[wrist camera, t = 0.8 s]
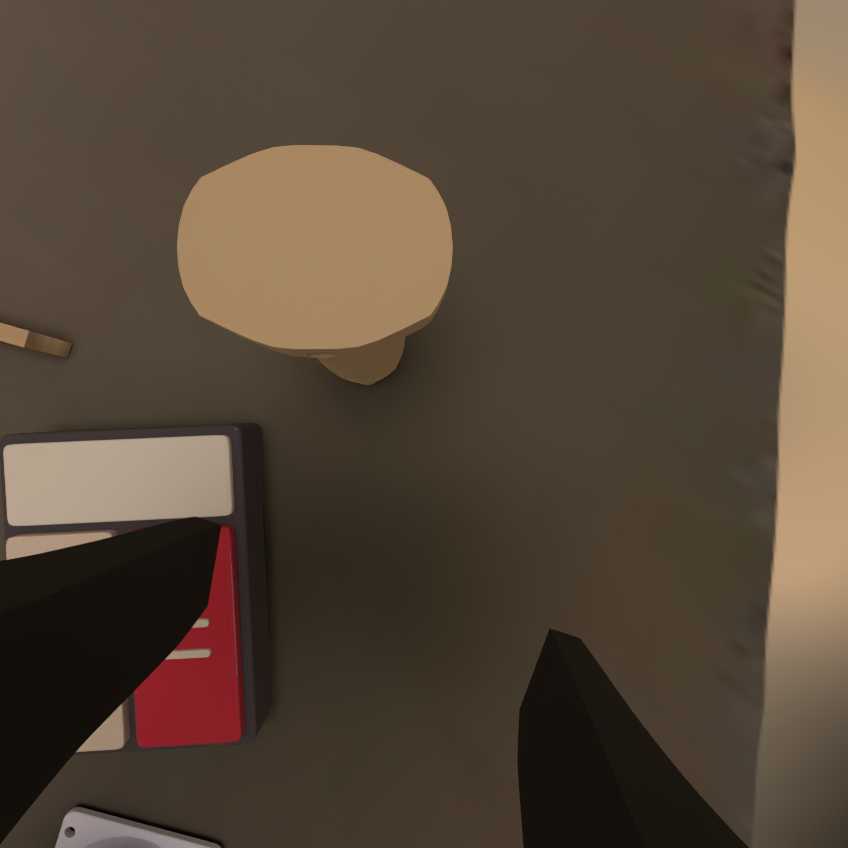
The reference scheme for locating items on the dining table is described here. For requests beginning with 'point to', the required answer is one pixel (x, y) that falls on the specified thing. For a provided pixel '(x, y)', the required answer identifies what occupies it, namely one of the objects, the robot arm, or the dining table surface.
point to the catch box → (34, 340)
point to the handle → (317, 254)
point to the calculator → (144, 507)
